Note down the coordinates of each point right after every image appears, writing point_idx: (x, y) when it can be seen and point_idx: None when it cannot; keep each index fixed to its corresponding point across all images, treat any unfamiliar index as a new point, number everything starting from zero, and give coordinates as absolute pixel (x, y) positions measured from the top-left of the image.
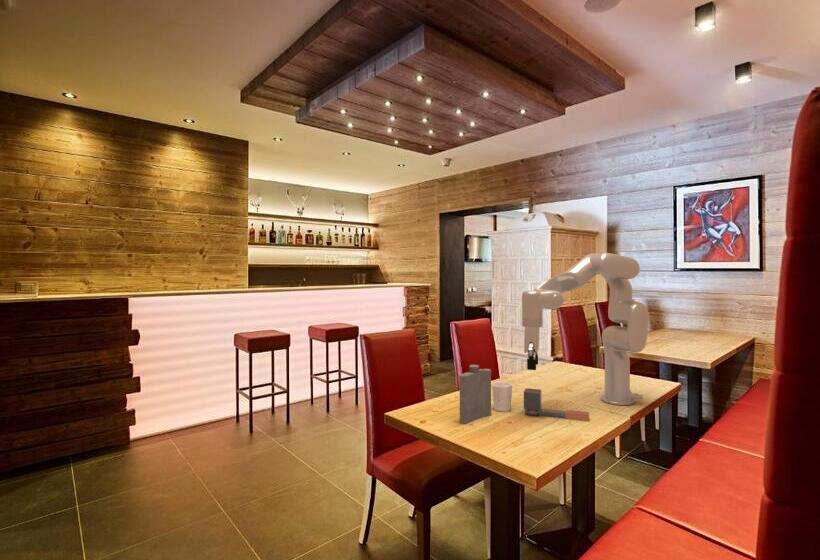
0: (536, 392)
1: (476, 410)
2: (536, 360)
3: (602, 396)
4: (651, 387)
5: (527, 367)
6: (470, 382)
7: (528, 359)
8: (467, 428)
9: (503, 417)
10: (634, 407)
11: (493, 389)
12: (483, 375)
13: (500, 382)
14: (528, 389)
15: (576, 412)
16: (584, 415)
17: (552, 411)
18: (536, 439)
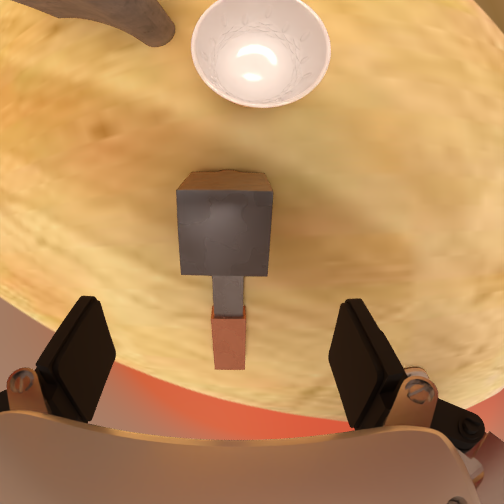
0: (198, 256)
1: (82, 12)
2: (338, 378)
3: (413, 374)
4: None
5: (76, 306)
6: None
7: (43, 373)
8: (26, 38)
9: (145, 95)
10: None
11: (222, 9)
12: None
13: (322, 33)
14: (248, 210)
15: (227, 344)
16: (214, 359)
17: (220, 277)
18: (24, 234)
